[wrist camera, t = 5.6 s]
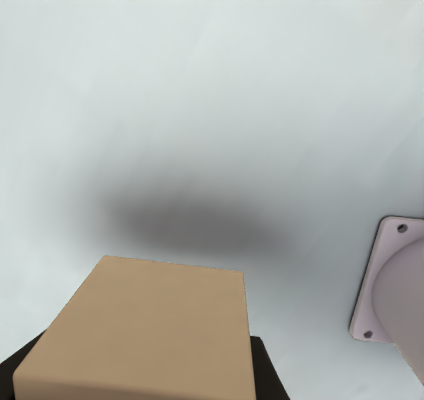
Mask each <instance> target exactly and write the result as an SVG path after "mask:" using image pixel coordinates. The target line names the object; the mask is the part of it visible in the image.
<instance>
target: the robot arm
mask: <svg viewBox="0 0 424 400" xmlns="http://www.w3.org/2000/svg"><path fill="white" fill-rule="evenodd" d="M401 224H403V227H402V229H400V230H397V228H398V226H399V225H401ZM47 329H48V328H47ZM47 329H46V330H47ZM46 330H45V331H46ZM45 331H43V332H42V333H41V334H39V335H38V336H37V337H36V338H34V339H33V340H32V341H30V342H29V343H28V344H26V345H25V346H24V347H22V348H21V349H20V350H18V351H17V352H16V353H14V354H13V355H12V356H10V357H9V358H7V359H6V360H5V361H3V362H2V363H1V364H0V400H15V392H14V384H13V374H14V372H15V370H16V369H17V368H18V366H19V365H20V364H21V362H22V361H23V360H24V359H25V357H26V356H27V355H28V353H29V352H30V351H31V349H32V348H33V347H34V346H35V344H36V343H37V342H38V340H39V339H40V338H41V337H42V335H43V334H44V333H45ZM366 331H369V332H367V333H365V332H366ZM349 332H350V334H351V336H352V337H353V338H354V339H357V340H366V341H375V342H384V343H393V344H395V345H396V347H397V348H398V350H399V351H400V352H401V354H402V355H403V357H404V358H405V360H406V361H407V363H408V364H409V366H410V367H411V368H412V370H413V371H414V373H415V374H416V376H417V377H418V379H419V380H420V382H421V383H422V385H423V386H424V220H422V219H412V218H403V217H393V216H391V217H387V218H385V219H384V220H382V222H381V224H380V227H379V230H378V234H377V237H376V240H375V244H374V247H373V251H372V254H371V257H370V261H369V264H368V267H367V271H366V274H365V278H364V281H363V284H362V288H361V291H360V294H359V298H358V301H357V304H356V308H355V311H354V315H353V318H352V321H351V325H350V328H349ZM250 343H251V353H252V363H253V374H254V384H255V394H256V400H290V398H289V396H288V395H287V393H286V391H285V389H284V387H283V385H282V383H281V381H280V379H279V377H278V375H277V373H276V371H275V369H274V367H273V365H272V362H271V360H270V358H269V356H268V354H267V351H266V349H265V346H264V344H263V341H262V340H261V339H260V337H256V336H250Z"/></svg>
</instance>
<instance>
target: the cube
mask: <svg viewBox="0 0 424 400" xmlns="http://www.w3.org/2000/svg"><path fill="white" fill-rule="evenodd" d="M13 384H14V392H15V400H256V394H255V384H254V374H253V363H252V353H251V343H250V333H249V323H248V313H247V303H246V293H245V283H244V274H243V272H241V271H233V270H224V269H216V268H208V267H199V266H191V265H183V264H174V263H166V262H157V261H149V260H141V259H132V258H124V257H116V256H107V255H106V256H103V257H102V259H101V260H100V261H99V262H98V264H97V265H96V266H95V268H94V269H93V270H92V272H91V273H90V274H89V275H88V277H87V278H86V279H85V281H84V282H83V283H82V285H81V286H80V287H79V288H78V290H77V291H76V292H75V294H74V295H73V296H72V298H71V299H70V300H69V301H68V303H67V304H66V305H65V307H64V308H63V309H62V311H61V312H60V313H59V314H58V316H57V317H56V318H55V320H54V321H53V322H52V324H51V325H50V326H49V327H48V329H47V330H46V331H45V333H44V334H43V335H42V337H41V338H40V339H39V340H38V342H37V343H36V344H35V346H34V347H33V348H32V349H31V351H30V352H29V353H28V355H27V356H26V357H25V359H24V360H23V361H22V362H21V364H20V365H19V366H18V368H17V369H16V370H15V372H14V374H13Z"/></svg>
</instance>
